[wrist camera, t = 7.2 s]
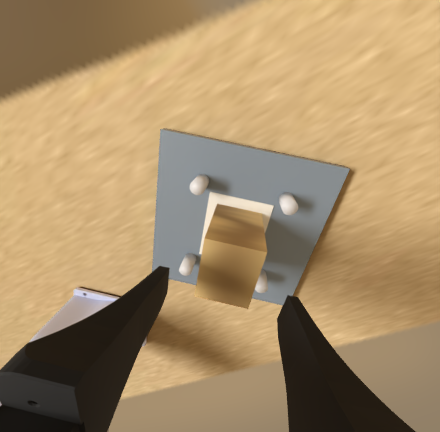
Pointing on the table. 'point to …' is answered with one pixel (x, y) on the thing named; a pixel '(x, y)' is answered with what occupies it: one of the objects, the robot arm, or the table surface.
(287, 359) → the robot arm
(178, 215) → the pin board
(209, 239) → the ochre block
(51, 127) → the table surface
